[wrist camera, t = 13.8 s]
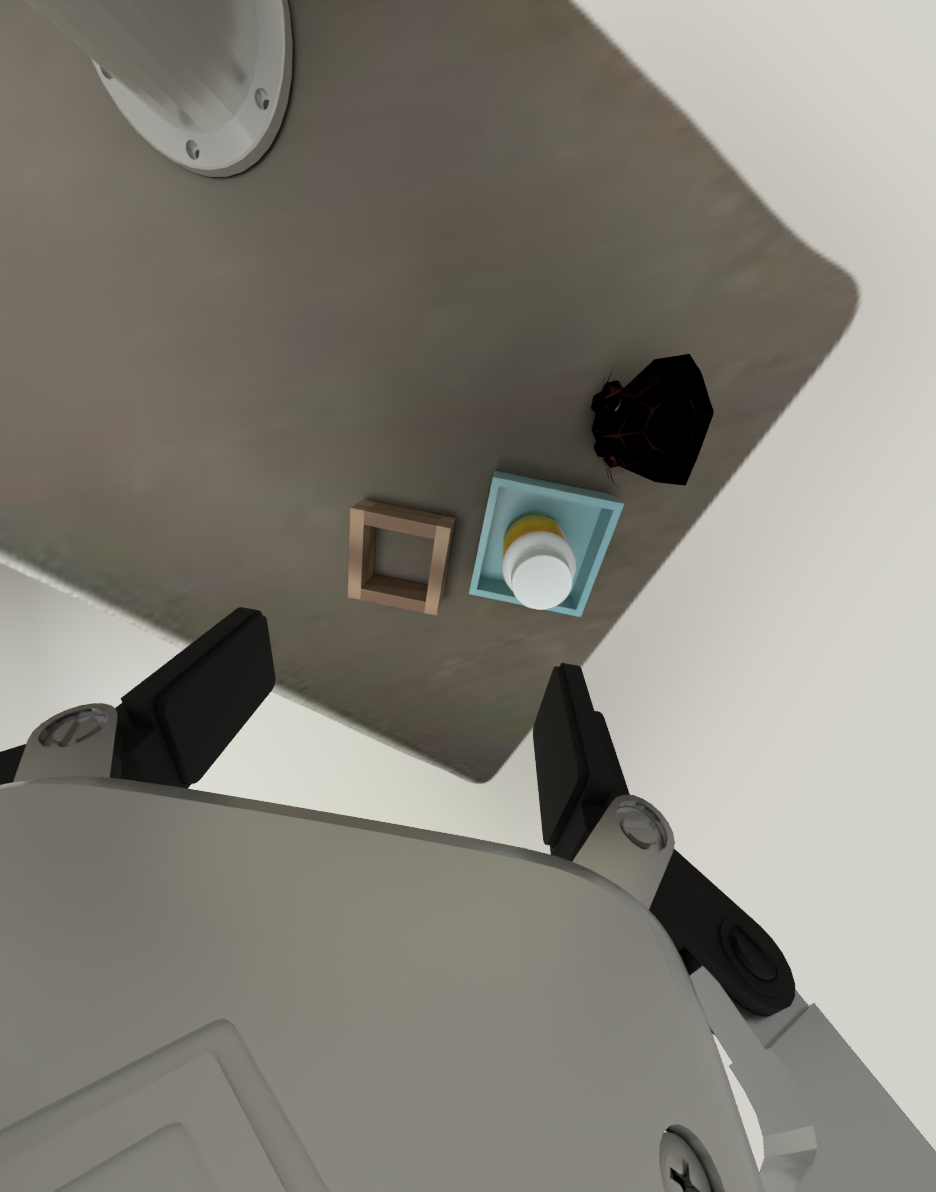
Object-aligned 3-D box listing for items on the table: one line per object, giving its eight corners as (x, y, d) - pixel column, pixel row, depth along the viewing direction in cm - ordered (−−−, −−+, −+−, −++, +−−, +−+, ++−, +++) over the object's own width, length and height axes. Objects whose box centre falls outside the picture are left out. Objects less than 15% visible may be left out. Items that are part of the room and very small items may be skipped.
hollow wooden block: (365, 499, 33) (350, 507, 30) (456, 518, 33) (450, 528, 30) (361, 581, 37) (348, 597, 34) (442, 598, 37) (436, 615, 34)
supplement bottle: (575, 543, 32) (601, 589, 23) (527, 578, 34) (534, 632, 25) (538, 497, 30) (551, 528, 22) (490, 536, 32) (485, 579, 24)
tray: (494, 470, 31) (492, 477, 27) (610, 493, 30) (624, 503, 27) (472, 576, 35) (469, 593, 32) (573, 596, 35) (580, 617, 32)
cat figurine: (569, 383, 27) (609, 360, 16) (665, 357, 26) (776, 315, 15) (578, 476, 30) (617, 509, 19) (664, 458, 29) (757, 482, 18)
